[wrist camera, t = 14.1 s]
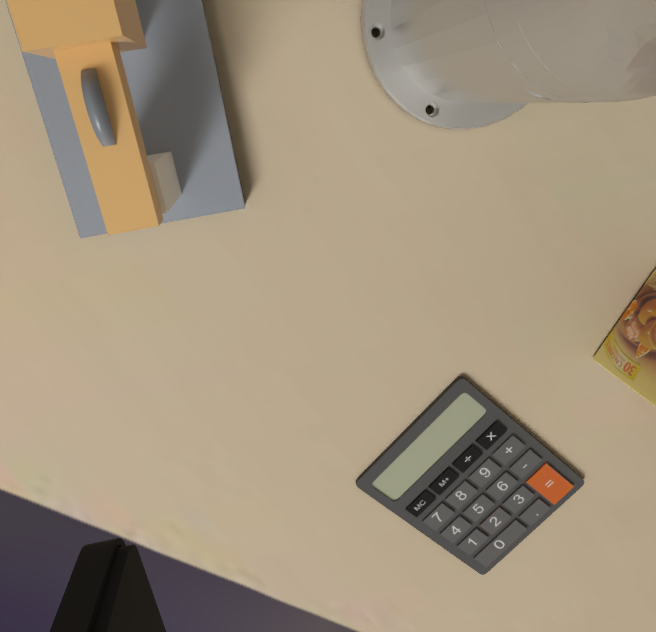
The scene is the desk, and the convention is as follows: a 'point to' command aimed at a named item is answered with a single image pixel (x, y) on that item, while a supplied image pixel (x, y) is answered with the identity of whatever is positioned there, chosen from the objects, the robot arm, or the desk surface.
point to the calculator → (470, 477)
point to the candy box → (634, 344)
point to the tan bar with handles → (98, 97)
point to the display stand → (155, 119)
